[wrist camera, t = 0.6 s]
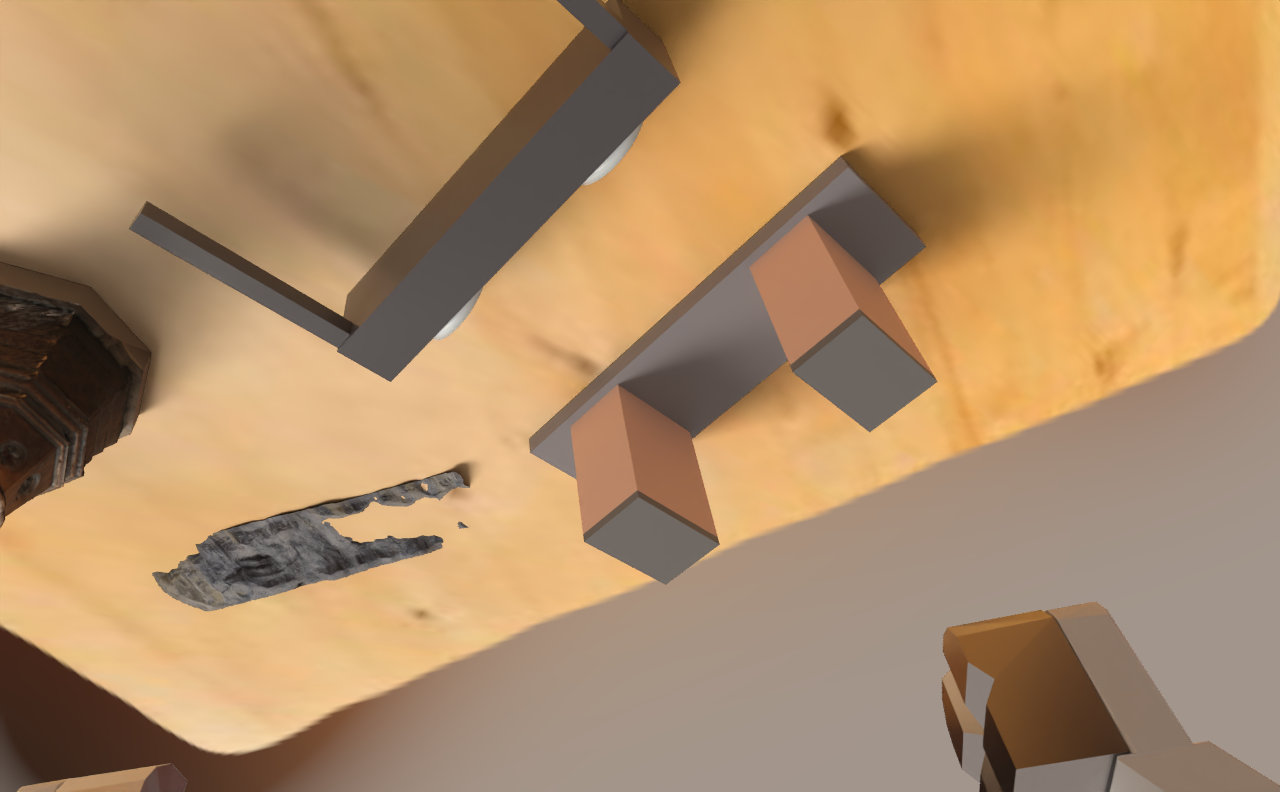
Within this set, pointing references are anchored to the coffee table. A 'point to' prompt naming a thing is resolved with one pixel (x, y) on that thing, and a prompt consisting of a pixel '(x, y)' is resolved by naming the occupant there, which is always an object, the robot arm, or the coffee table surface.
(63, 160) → the coffee table surface
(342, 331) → the glasses
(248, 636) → the coffee table surface
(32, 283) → the bird statue
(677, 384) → the stand
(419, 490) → the driftwood
